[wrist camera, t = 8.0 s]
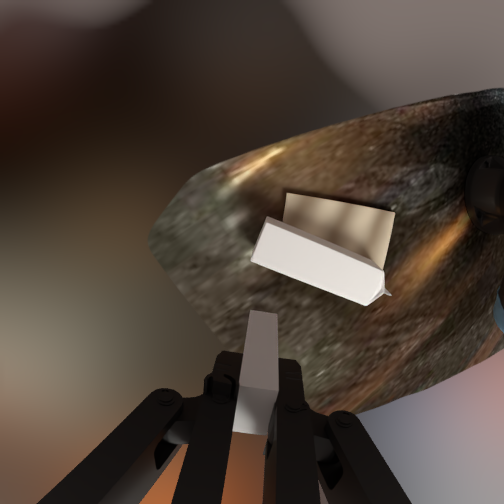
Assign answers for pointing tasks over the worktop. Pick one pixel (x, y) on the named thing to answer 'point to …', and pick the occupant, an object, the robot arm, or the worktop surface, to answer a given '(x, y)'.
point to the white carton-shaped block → (318, 262)
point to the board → (342, 224)
